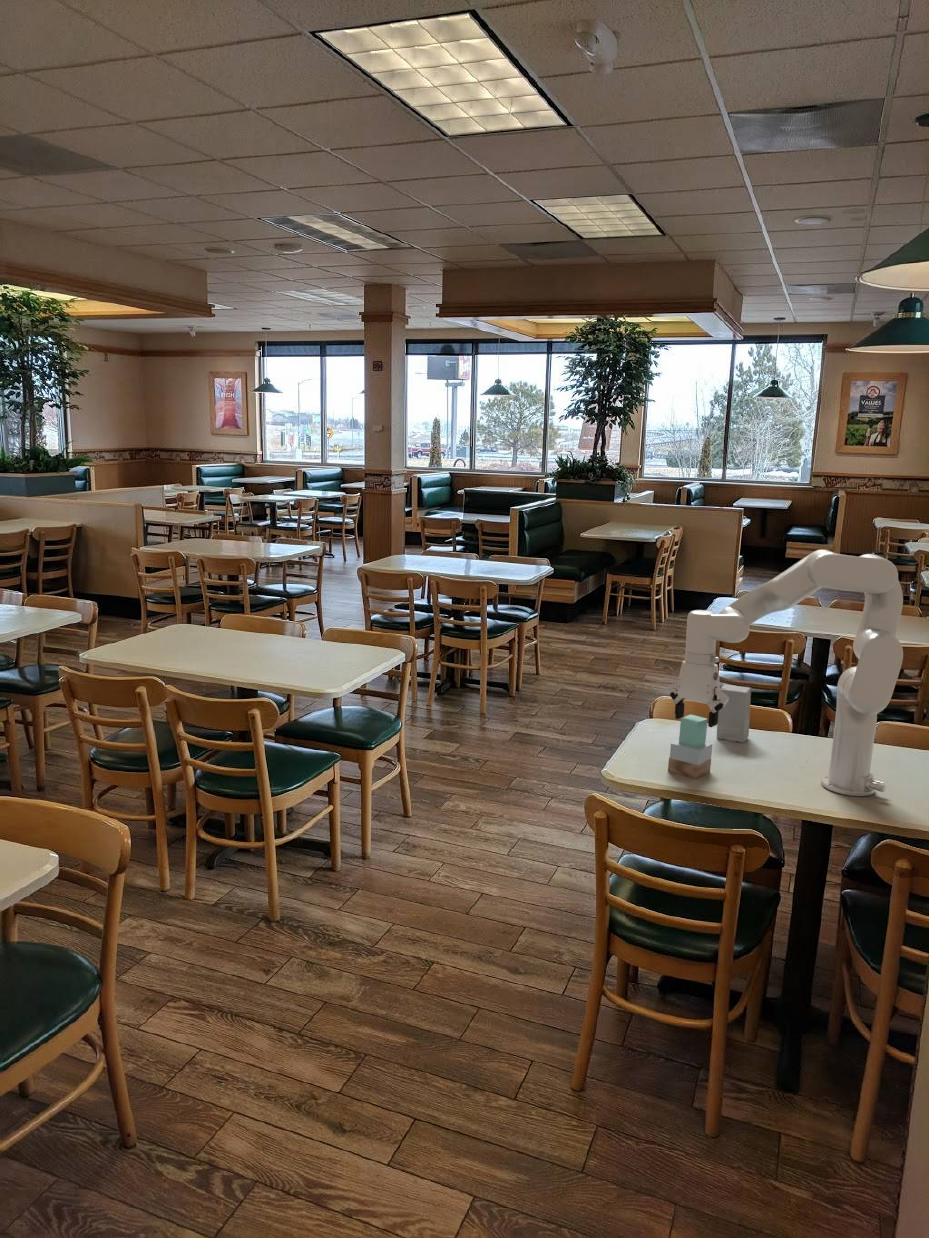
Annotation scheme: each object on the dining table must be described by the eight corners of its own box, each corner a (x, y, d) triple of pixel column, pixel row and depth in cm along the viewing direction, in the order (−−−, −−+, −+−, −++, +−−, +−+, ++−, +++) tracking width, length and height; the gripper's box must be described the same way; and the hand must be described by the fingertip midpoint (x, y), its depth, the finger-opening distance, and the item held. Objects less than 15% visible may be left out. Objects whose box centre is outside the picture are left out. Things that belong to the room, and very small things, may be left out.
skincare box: (748, 738, 267) (753, 687, 264) (742, 744, 261) (748, 692, 258) (720, 733, 271) (725, 682, 268) (713, 738, 265) (718, 687, 262)
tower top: (711, 758, 236) (712, 743, 235) (697, 765, 230) (699, 750, 229) (683, 751, 241) (684, 736, 240) (669, 757, 235) (670, 743, 234)
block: (705, 744, 235) (707, 718, 233) (695, 748, 231) (698, 722, 230) (688, 739, 238) (690, 714, 237) (678, 743, 235) (681, 717, 233)
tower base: (709, 773, 236) (711, 758, 236) (694, 780, 231) (696, 765, 230) (683, 765, 242) (684, 751, 241) (667, 772, 236) (668, 757, 235)
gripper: (737, 661, 227) (733, 726, 230) (678, 650, 239) (674, 712, 242) (723, 666, 222) (718, 732, 225) (662, 654, 233) (659, 717, 237)
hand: (695, 722), depth 233 cm, fingers open, 9 cm apart
